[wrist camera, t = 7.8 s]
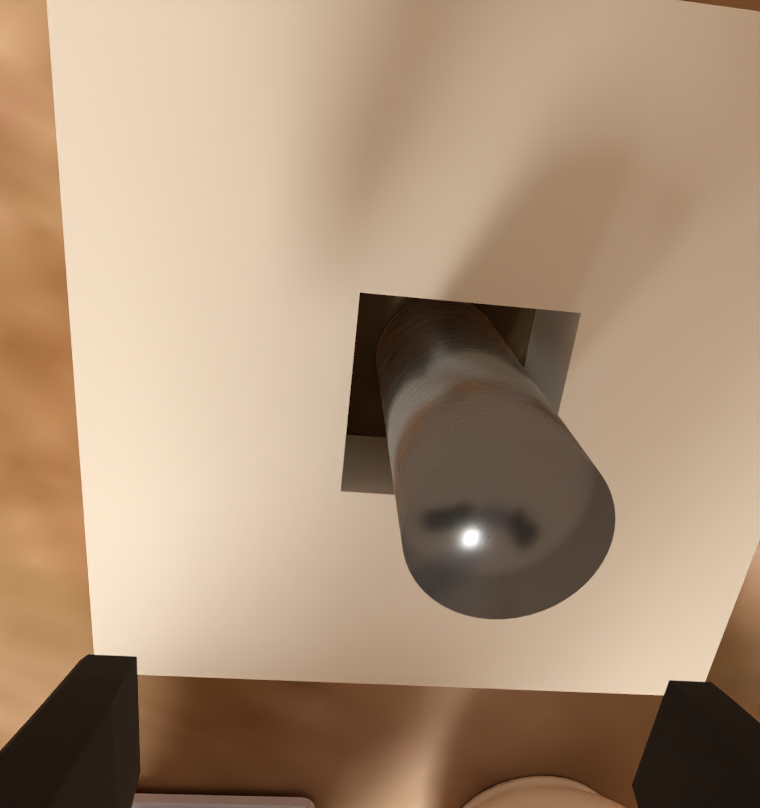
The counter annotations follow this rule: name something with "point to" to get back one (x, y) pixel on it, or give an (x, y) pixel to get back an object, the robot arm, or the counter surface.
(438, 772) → the counter surface
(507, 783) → the lidded jar
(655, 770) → the robot arm
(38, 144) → the counter surface
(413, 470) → the tall pin
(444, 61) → the hole block
